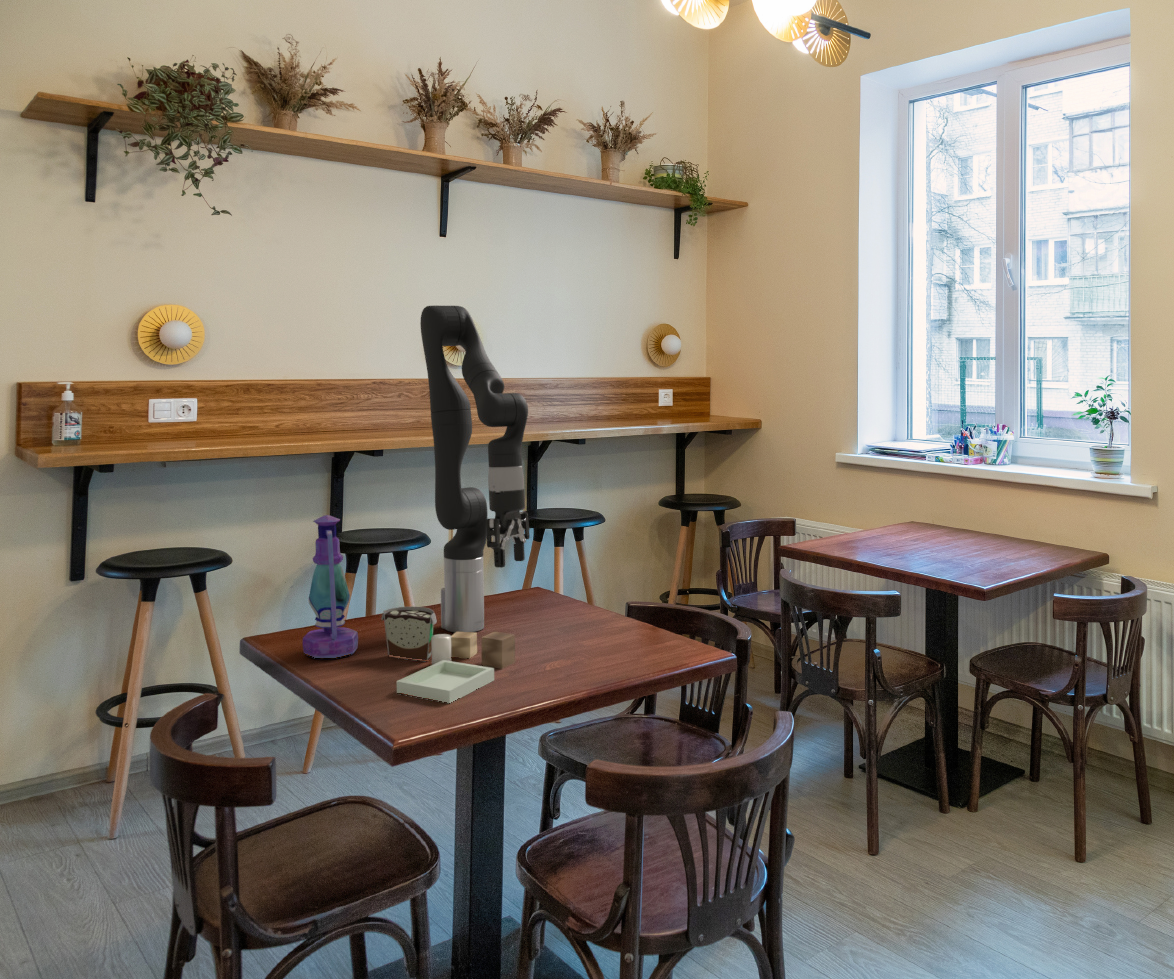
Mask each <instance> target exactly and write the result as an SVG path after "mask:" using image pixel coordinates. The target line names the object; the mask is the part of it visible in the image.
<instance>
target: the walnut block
mask: <svg viewBox="0 0 1174 979" xmlns="http://www.w3.org/2000/svg"><path fill="white" fill-rule="evenodd" d="M480 645H481V666H482V665H483V667H489V668H494V669H499V670H500V669H502V670H504V669H505V668H507V667H509V666H511V665H513V664H515V663H516V634H514V633H506V632H501V631H493V632H490V633H488V634H485V635H484V636H481V644H480ZM508 665H509V666H508Z"/></svg>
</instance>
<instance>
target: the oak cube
mask: <svg viewBox="0 0 1174 979" xmlns="http://www.w3.org/2000/svg"><path fill="white" fill-rule="evenodd" d="M477 653H478V633H477V632H453V634H452V635H451V657H459V658H458V659H467V658H469V660H470V658H471V657H472V658H473V657H474V656H475V655H477ZM472 658H471V659H472Z"/></svg>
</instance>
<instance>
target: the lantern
mask: <svg viewBox="0 0 1174 979" xmlns="http://www.w3.org/2000/svg"><path fill="white" fill-rule="evenodd" d="M340 521H341V519H340V518H337V517H336V516H332V515H330V514H329V515H328V514H326V515H322V516H319V517H318V518H316V519H314V520H313V521H312V522H313V523H315V524H316V525H317V526H318V527H317V534H318V538H316V539H315V554H314V556H313V557H312V562H313V563H314V564H315V565H316V566H315V568H314V570H313V574H312V579H311V584H310V588H309V589H310V590H309V594H308V595H309V596H308V604H309V606H310V608H311V609H312V611H313V613H314V614H315V616H316V617H315V618H314V621H316V622H315V624H314V626H315V627H317V628H319V629H313V630H309V632H307V633H306V634H305V635H304V636H303V637H302V649H303V654H304V653H305V654H308V655H310V656H312V657H311V658H313V657H314V658H313V659H315V658H336V657H340V658H342V657H341V656H344V655H348V654H351V655H353V654H354V653H355V652H356V651H357V649H358V647H359V646H358V644H359V633H358V632H357V631H356V630H354V629H351V628H348V627H342V626H344V625H345V624H346V621H345V614H344V613H345V610H346V608H347V607H348V605H349V602H350V599H351V595H350V591H349V587H348V584H347V580H346V576H345V573H344V570H343V567H342V565H341V562H342V561H343V560H344V556H343V554H342V553H341V549H340V539H339V537H337V525H336V524H337V523H339V522H340ZM305 654H304V655H305ZM308 655H307V656H308ZM310 656H309V657H310ZM336 659H337V658H336Z"/></svg>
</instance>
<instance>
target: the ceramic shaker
mask: <svg viewBox="0 0 1174 979" xmlns="http://www.w3.org/2000/svg"><path fill="white" fill-rule="evenodd" d="M451 636H452V635H451V634H447V633H438V634H433V636H432V637H431V644H432V651H431V665H434V664H436V663H438V662H440V661H443V660H446V661H452V658H451Z"/></svg>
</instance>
